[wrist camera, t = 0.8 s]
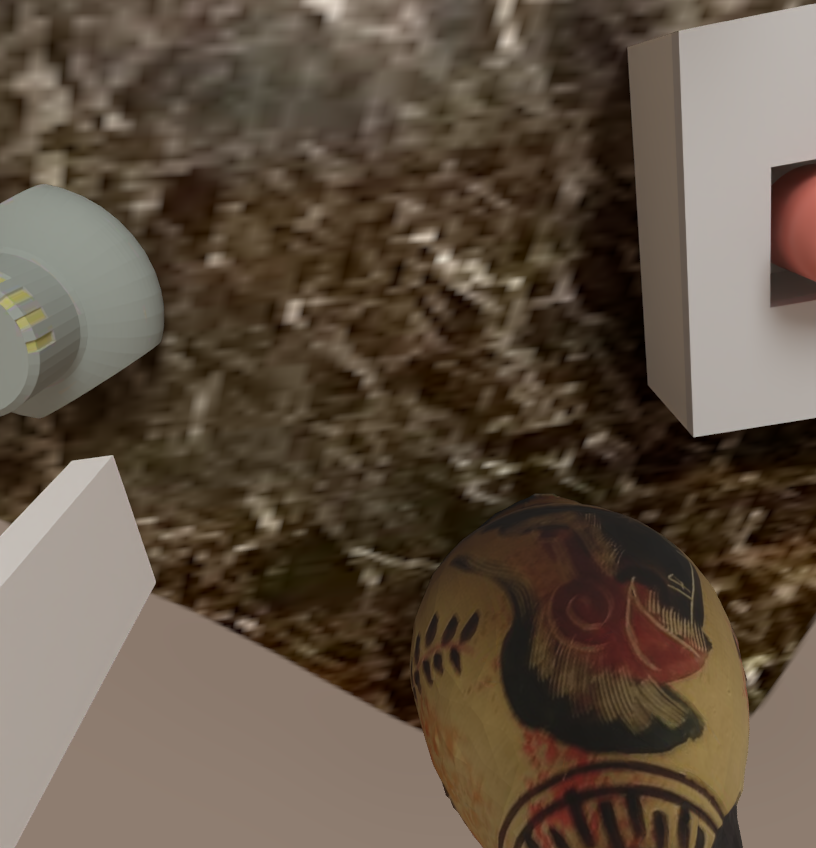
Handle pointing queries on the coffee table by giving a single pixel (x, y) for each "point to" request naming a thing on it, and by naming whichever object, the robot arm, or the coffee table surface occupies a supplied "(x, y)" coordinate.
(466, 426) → the coffee table surface
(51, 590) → the robot arm
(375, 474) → the coffee table surface
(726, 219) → the box
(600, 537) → the ceramic jug
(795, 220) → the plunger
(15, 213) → the air freshener
